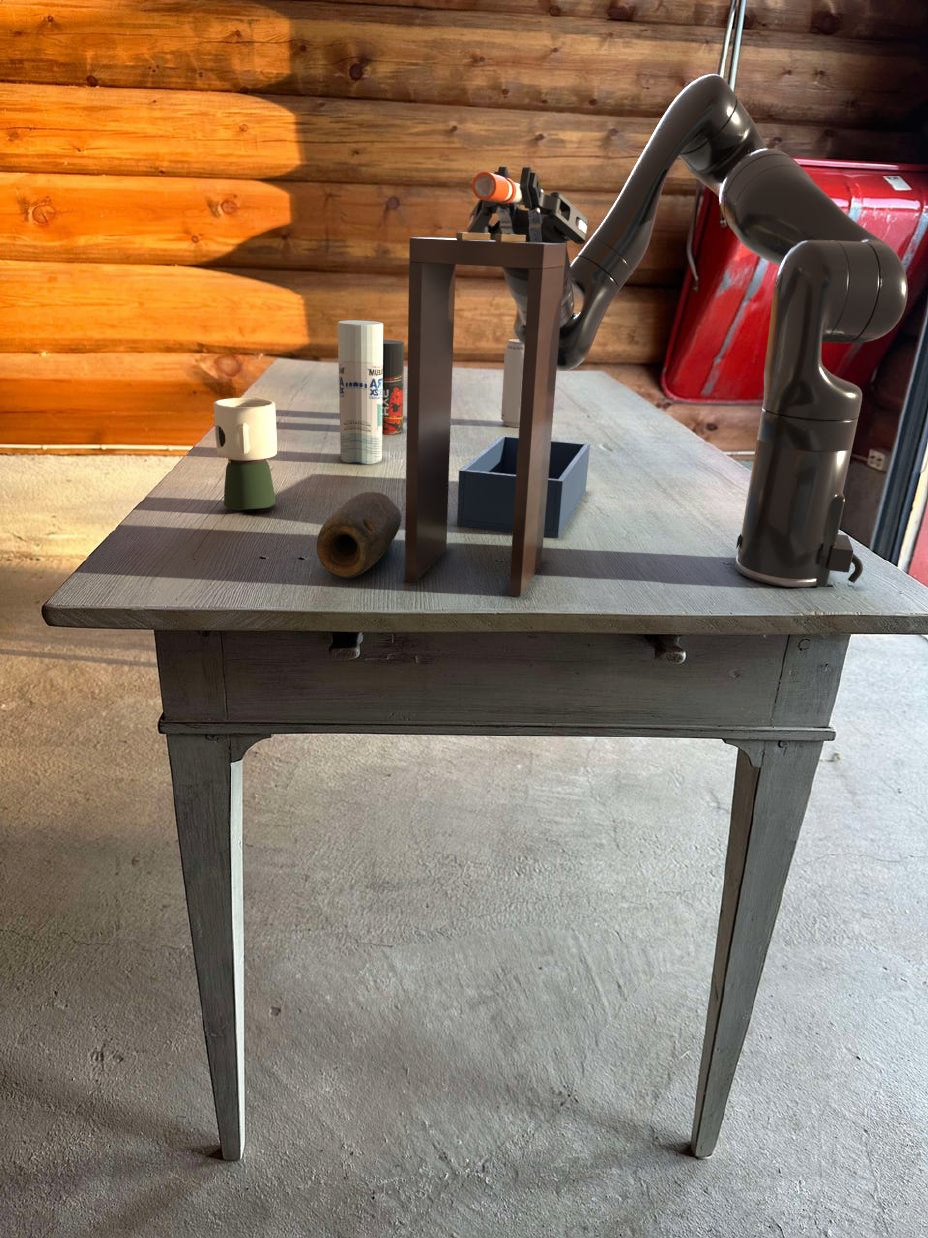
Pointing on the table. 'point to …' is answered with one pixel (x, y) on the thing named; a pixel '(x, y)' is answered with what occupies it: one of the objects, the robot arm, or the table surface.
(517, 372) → the energy drink can
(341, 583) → the table surface
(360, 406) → the spray paint can
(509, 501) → the bin
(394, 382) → the deodorant
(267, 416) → the character mug
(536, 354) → the stand
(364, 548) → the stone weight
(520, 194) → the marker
